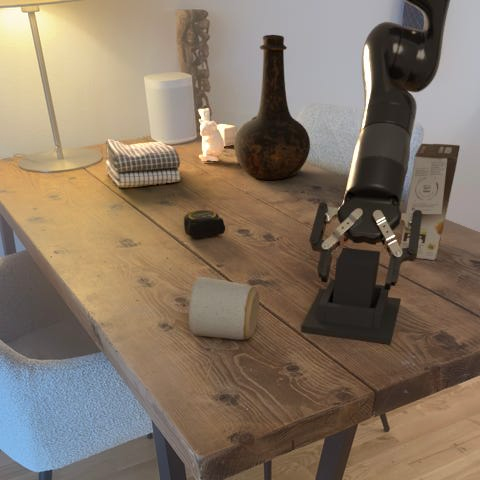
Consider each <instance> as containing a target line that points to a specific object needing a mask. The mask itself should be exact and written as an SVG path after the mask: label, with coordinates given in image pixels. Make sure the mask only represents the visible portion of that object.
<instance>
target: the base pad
mask: <svg viewBox="0 0 480 480" xmlns="http://www.w3.org/2000/svg"><path fill="white" fill-rule="evenodd" d="M334 282H335V279H332V278H330V280H329V281H328V284H327V286H326V288H319V290H318V292H317V293H316V296H315V298H314V300H313V301H312V304H311V306H310V308H309V310H308V312H307V314H306V317H305V318H304V320H303V322H302V323H301V324H302V325H301V329H300V331H301V333H305V334H313V335H320V336H326V337H334V338H341V339H346V340H347V339H349V340H355V341H361V342H368V343H376V344H381V345H382V344H383V345H387V346H388V345H389V346H391V344H392V339H393V336H394V331H395V327H396V323H397V318H398V315H399V310H400V306H401V301H402V298H399V297H392V296H391V297H390V296H389V291H390V290H385V285H381V284H376V286H375V293H374V300H373V306H372V308H366V307H359V306H351V305H343V304H335V303H333V293H334Z"/></svg>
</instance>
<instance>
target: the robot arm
mask: <svg viewBox="0 0 480 480" xmlns="http://www.w3.org/2000/svg"><path fill="white" fill-rule="evenodd" d="M403 1H404V2H405V3H407V4H409V5H411V6H413V7H414V8H416V9H417V10H418V11H420V12H421V14H422V15H423V29H422V30H420V29H417V28H413V27H409V26H406V25H401V24H399V23H397V22H392V21H383V22H380V23H378V24H377V25H376V26H374V27H373V28H372V29H371V31H370V32H369V33H368V35H367V37H366V39H365V41H364V43H363V48H362V52H361V76H362V77H361V78H362V84H363V99H364V100H363V101H364V102H363V103H364V107H363V113H362V114H363V115H362V118H361V123H360V127H359V132H358V133H359V134H358V137H357V140H356V143H355V146H354V149H353V153H352V158H351V162H350V168H349V171H348V172H349V173H348V177H347V184H346V188H345V193H344V198H343V202H342V203H341V205H340V206H339V207H335V206H328V203H327V202H325V201H324V202H323V201H322V202H320V203H319V204H318V206H317V210H316V214H315V218H314V222H313V225H312V229H311V232H310V236H309V243H310V246H311V247H310V248H311V250H312V251H314V252H318V253H319V254H320V255H319V258H318V259H319V260H318V264H317V269H316V270H317V273H318V274H317V275H318V277H319V278H320V280H321V282H322V283H328V282H329V281H328V280H329V276H330V272H331V265H332V262H333V254H334V253H335V252H336V251H338V250H339V249H341V248H343V247H344V246H345V245H346V244H347V243H348V242H349V241H351V242H352V243H353V244H362V243H363V244H364V243H365V244H368V245H372V246H376V245H377V244H379V243H381V245H382V246H383V247H382V248H383V249H384V250H385V252H387V254H388V255H389V257H390V258H389V262H388V268H387V271H386V272H387V273H386V278H385V281H384V282H385V283H384V286H385V290H389V291H391V289H392V287H396V285H397V283H398V280H399V275H400V270H401V265H402V264H403V263H404V262H407V261H409V262H414V261H415V260H416V259H417V258H416V257H417V251H418V244H419V236H420V228H421V220H422V212H421V211H420V210H415V211H414V212H413V213H406V212H402V211H401V208H400V207H401V203H402V202H401V201H402V197H403V191H404V187H405V181H406V177H407V173H408V171H409V162H410V154H411V143H412V136H413V131H414V127H415V121H416V116H417V109H418V108H417V106H418V105H417V102H416V98H415V97H414V96H413V94H412V93H420V92H422V91H424V90H425V89H426V88H428V87H429V86H430V84H431V83H432V82H433V81H434V80H435V77H436V75H437V73H438V70H439V68H440V62H441V56H442V49H443V39H444V32H445V27H446V22H447V17H448V11H449V7H450V5H451V4H450V3H451V0H403ZM336 218H337V219H338V221H339V223H340V224H339V225H338V226H337V227H336V228H335V229H334V230H333V232H332V233H331V234H330V235H329V236H328V237H327V238H326V239H325V240H323V238H324V235H325V231H326V228H327V225H330V224H331V223H332V222H333V220H334V219H336ZM400 224H402V225H403V227H404V226H405V230H406V231H410V238H409V246H408V247H407V248H403V249H401V247H400V245H401V244H399V242H398V239H397V238H396V234H395V233H394V230H396V228H397V227H399V226H400Z"/></svg>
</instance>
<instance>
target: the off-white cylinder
mask: <svg viewBox="0 0 480 480" xmlns="http://www.w3.org/2000/svg"><path fill="white" fill-rule="evenodd" d="M189 297H190V298H189V303H188V325H189V329H190V332H191V334H192V335H194V336H200V337H208V338H209V337H210V338H218V339H228V340H236V341H242V340H243V341H244V340H245V341H246V340H249V339H251V337H253V335H254V334H255V331H256V328H257V324H258V319H259V313H260V293H259V291H258V290H257V288H256V287H254V286H251V285H248V284H247V283H241V282H233V281H230V280H229V281H228V280H224V279H223V280H222V279H217V278H211V277H206V276H199V277H198V278H197V279H196V280H195V282H194V284H193V286H192V289H191V293H190V296H189Z"/></svg>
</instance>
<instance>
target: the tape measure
mask: <svg viewBox="0 0 480 480" xmlns="http://www.w3.org/2000/svg"><path fill="white" fill-rule="evenodd" d="M183 228H184V229H183V230H184V232H185V235H187V236H189V237H190V238H193V239H207V238H209V237H212V236H219V235H223V234H224V233H225V231H226V225H225V222H224V219H223V218H222V217H220V216H219V214H218V213H217V212H216V211H213V210H209V209H198V210H193V211H190V212H188V213H186V214H185V215H184V218H183Z"/></svg>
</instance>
